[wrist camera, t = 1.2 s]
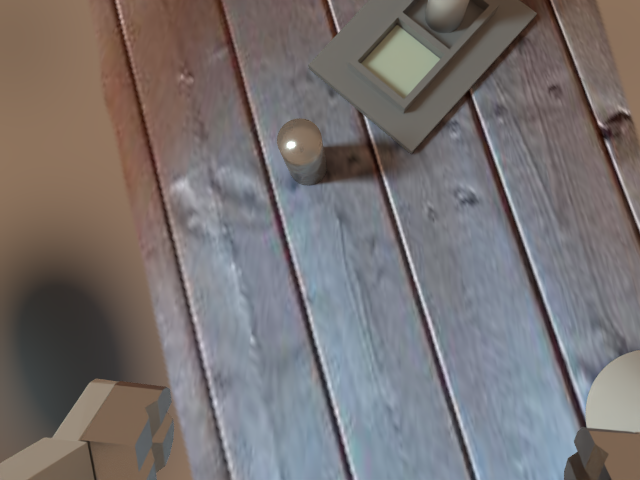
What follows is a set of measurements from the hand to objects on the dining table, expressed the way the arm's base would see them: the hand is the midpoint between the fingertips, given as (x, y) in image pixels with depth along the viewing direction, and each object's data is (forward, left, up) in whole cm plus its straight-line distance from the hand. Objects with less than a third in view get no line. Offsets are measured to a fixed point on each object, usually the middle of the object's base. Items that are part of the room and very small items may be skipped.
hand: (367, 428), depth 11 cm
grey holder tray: (+17, -31, -51) cm, 62 cm away
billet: (+17, -11, -51) cm, 55 cm away
